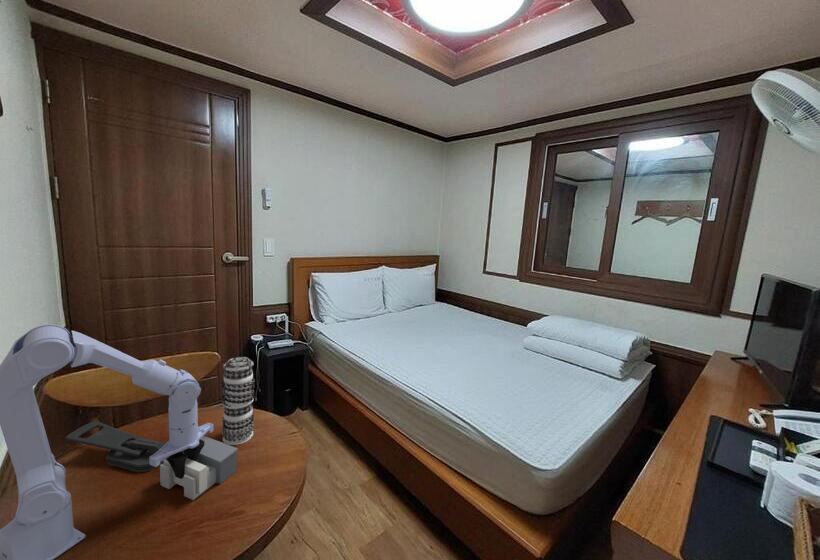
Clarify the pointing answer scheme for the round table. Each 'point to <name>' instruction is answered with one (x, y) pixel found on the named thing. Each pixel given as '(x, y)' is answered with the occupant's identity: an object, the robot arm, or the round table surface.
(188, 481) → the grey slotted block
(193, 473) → the door panel
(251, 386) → the decorative candle
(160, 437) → the round table surface
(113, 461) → the zipper pull
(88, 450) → the round table surface
